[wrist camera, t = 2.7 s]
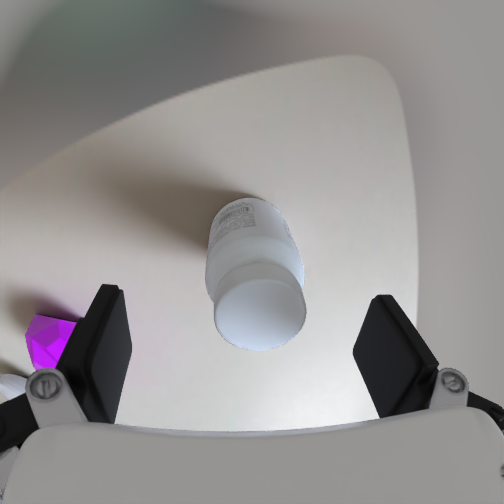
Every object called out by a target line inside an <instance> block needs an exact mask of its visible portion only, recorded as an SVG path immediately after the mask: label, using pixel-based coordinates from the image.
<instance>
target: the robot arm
mask: <svg viewBox="0 0 504 504" xmlns="http://www.w3.org/2000/svg"><path fill="white" fill-rule="evenodd" d="M131 353H132V342H131V337H130V331H129V325H128V319H127V313H126V306H125V300H124V293H123V290H121V289H119V288H118V286H117V285H109V284H102V285H101V287H100V289H99V290H98V292H97V294H96V296H95V298H94V300H93V302H92V304H91V306H90V308H89V310H88V312H87V314H86V316H85V318H82V317H81V318H79V320H78V321H77V323H76V325H75V327H74V329H73V331H72V333H71V335H70V337H69V339H68V341H67V343H66V345H65V347H64V349H63V352H62V354H61V356H60V358H59V360H58V362H57V365H56V367H55V369H53V368H43V369H39V370H37V371H35V372H33V373H32V374H31V375H30V376H29V378H28V379H27V381H26V385H25V390H26V392H25V393H23V394H21V395H19V396H17V397H15V398H13V399H11V400H8V401H6V402H4V403H2V404H0V504H504V409H502V407H501V406H499V405H498V404H496V403H493V402H491V401H489V400H487V399H485V398H483V397H480V396H478V395H476V394H474V393H472V392H470V391H469V383H468V381H467V379H466V377H465V376H464V375H463V374H462V373H461V372H459V371H457V370H456V369H453V368H444V369H441V370H440V371H439V370H438V369H437V367H438V365H439V363H438V361H437V360H436V358H435V357H434V355H433V354H432V352H431V351H430V349H429V348H428V346H427V345H426V343H425V342H424V340H423V339H422V337H421V336H420V334H419V333H418V331H417V330H416V328H415V327H414V326H413V324H412V323H411V321H410V320H409V318H408V317H407V316H406V314H405V313H404V311H403V310H402V309H401V307H400V306H399V304H398V303H397V302H396V300H395V299H394V298H393V296H392V295H377V296H376V297H375V298H374V299H372V301H371V303H370V306H369V309H368V311H367V314H366V317H365V319H364V322H363V325H362V327H361V330H360V333H359V335H358V338H357V340H356V343H355V345H354V348H353V356H354V359H355V361H356V363H357V366H358V368H359V370H360V373H361V375H362V377H363V379H364V382H365V384H366V386H367V389H368V391H369V393H370V396H371V398H372V400H373V403H374V405H375V408H376V410H377V412H378V415H379V417H380V419H374V420H368V421H362V422H356V423H349V424H341V425H333V426H325V427H315V428H305V429H292V430H276V431H247V432H216V431H189V430H173V429H159V428H147V427H137V426H128V425H118V424H114V422H115V418H116V414H117V409H118V405H119V401H120V397H121V392H122V388H123V384H124V380H125V376H126V372H127V368H128V365H129V361H130V357H131ZM5 487H6V488H5ZM4 488H5V492H4V496H3V498H2V494H3V490H4Z"/></svg>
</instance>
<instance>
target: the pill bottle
mask: <svg viewBox="0 0 504 504" xmlns="http://www.w3.org/2000/svg"><path fill="white" fill-rule="evenodd" d="M304 278H305V273H304V266H303V262H302V259H301V256H300V254H299V251H298V249H297V247H296V244H295V242H294V240H293V237H292V235H291V233H290V231H289V228H288V226H287V224H286V221H285V219H284V217H283V216H282V214H281V213H280V211H279V210H278V209H277V208H276V207H275V206H273V205H272V204H270V203H268V202H266V201H264V200H261V199H257V198H243V199H238V200H235V201H233V202H231V203H229V204H227V205H226V206H224V207H223V208H222V209H221V210H220V211H219V212H218V213H217V215H216V216H215V218H214V220H213V222H212V225H211V229H210V236H209V244H208V253H207V262H206V273H205V282H206V288H207V292H208V294H209V296H210V298H211V300H212V301H213V303H214V321H215V325H216V328H217V330H218V332H219V333H220V335H221V336H222V337H223V338H224V339H225V340H226V341H228V342H229V343H231V344H232V345H234V346H236V347H239V348H243V349H246V350H256V351H257V350H269V349H273V348H276V347H279V346H281V345H283V344H285V343H287V342H288V341H290V340H291V339H292V338H294V337H295V336H296V335H297V334H298V333H299V331H300V330H301V328H302V326H303V324H304V322H305V318H306V304H305V300H304V297H303V293H302V288H303V284H304Z"/></svg>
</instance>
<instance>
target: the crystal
mask: <svg viewBox="0 0 504 504" xmlns="http://www.w3.org/2000/svg"><path fill="white" fill-rule="evenodd" d="M75 325H76V322H71V321H66V320H61V319H56V318H51V317H46V316H41V315H37V314H35V316H34V318H33V320H32V322H31V324H30V326H29V328H28V330H27V332H26V334H25V337H26V342H27V348H28V351H29V354H30V358H31V361H32V364H33V367H34V368H35V370H36V371H37V370H39V369H43V368H53V369H55V367H56V365H57V362H58V360H59V358H60V356H61V354H62V352H63V349H64V347H65V345H66V343H67V341H68V339H69V337H70V335H71V333H72V331H73V329H74V327H75Z"/></svg>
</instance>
